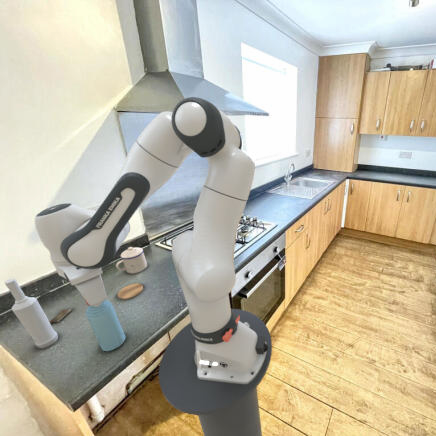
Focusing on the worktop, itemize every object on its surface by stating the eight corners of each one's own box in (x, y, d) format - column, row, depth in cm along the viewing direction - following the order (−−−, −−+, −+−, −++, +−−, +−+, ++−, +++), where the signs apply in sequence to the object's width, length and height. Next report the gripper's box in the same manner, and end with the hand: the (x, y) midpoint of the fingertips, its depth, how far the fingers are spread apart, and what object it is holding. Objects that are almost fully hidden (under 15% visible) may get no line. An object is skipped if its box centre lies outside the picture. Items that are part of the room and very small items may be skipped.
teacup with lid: (142, 260, 118) (135, 240, 113) (151, 266, 113) (145, 246, 109) (115, 273, 109) (107, 252, 104) (124, 280, 104) (116, 258, 99)
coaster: (148, 286, 100) (147, 285, 100) (129, 301, 92) (129, 300, 92) (132, 282, 103) (131, 281, 102) (112, 296, 95) (112, 295, 94)
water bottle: (130, 336, 78) (111, 290, 70) (111, 353, 72) (89, 305, 64) (115, 332, 79) (96, 286, 72) (96, 348, 74) (73, 300, 66)
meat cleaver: (76, 311, 88) (66, 308, 89) (75, 308, 88) (65, 306, 89) (37, 336, 78) (27, 333, 79) (36, 333, 77) (26, 330, 78)
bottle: (40, 351, 73) (-1, 289, 63) (34, 344, 75) (-7, 283, 65) (61, 338, 77) (25, 278, 67) (55, 332, 79) (19, 273, 69)
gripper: (55, 253, 67) (73, 290, 73) (71, 283, 55) (91, 325, 61) (82, 244, 71) (98, 280, 77) (103, 270, 60) (119, 310, 65)
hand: (95, 300), depth 69 cm, fingers closed on cap, 4 cm apart
